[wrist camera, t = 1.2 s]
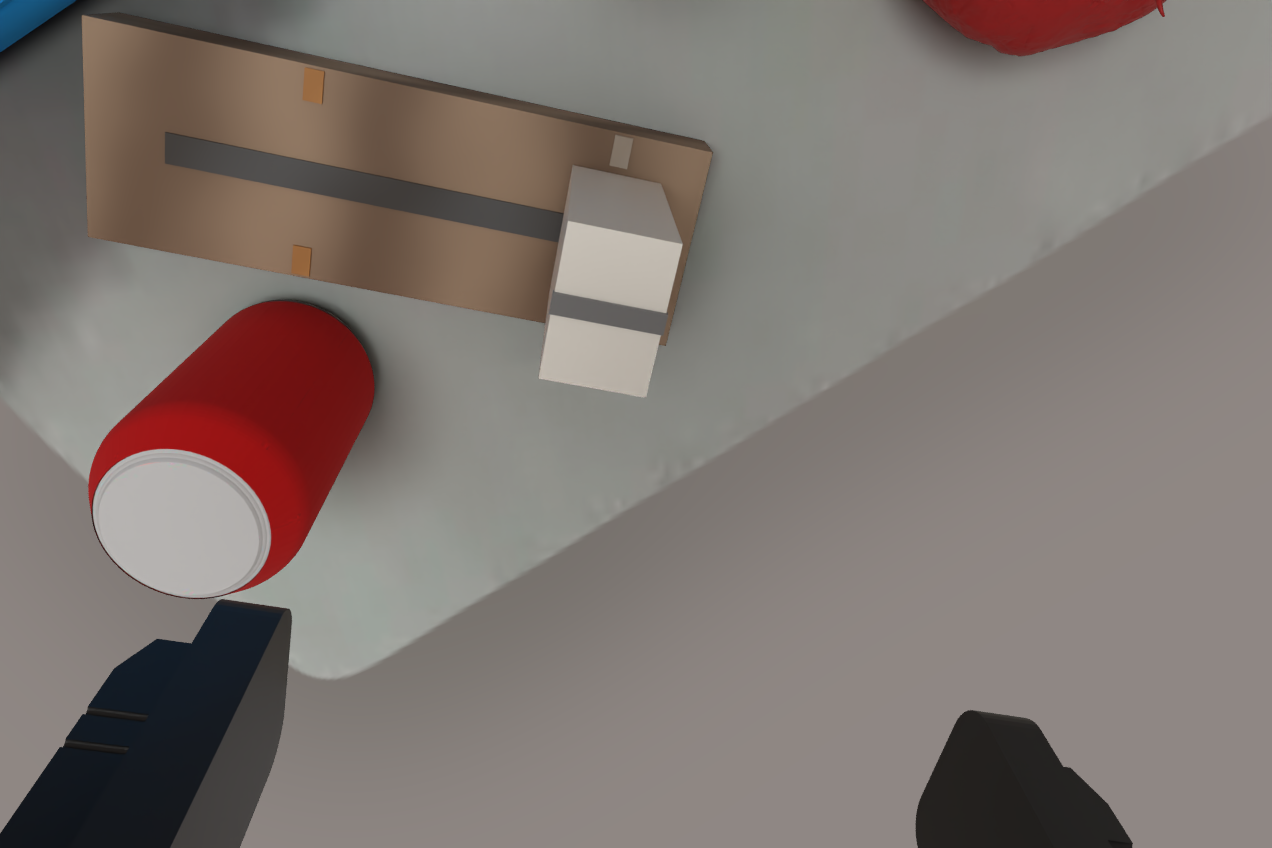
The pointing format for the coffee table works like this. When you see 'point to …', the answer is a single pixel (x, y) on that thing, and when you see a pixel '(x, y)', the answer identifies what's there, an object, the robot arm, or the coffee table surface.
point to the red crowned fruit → (1039, 20)
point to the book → (25, 17)
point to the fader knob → (610, 283)
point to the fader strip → (347, 168)
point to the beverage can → (232, 452)
